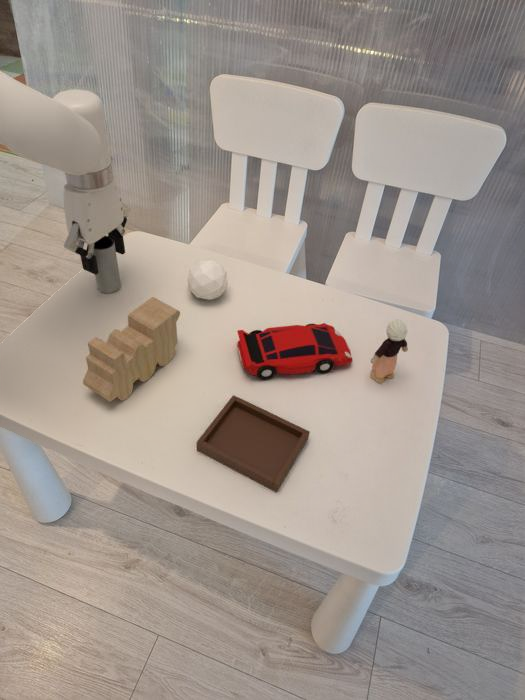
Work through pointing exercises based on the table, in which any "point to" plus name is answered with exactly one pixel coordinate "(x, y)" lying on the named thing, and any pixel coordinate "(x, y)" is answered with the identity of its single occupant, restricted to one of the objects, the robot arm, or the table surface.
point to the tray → (253, 442)
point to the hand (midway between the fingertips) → (104, 260)
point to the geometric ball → (207, 279)
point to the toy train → (132, 350)
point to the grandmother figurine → (389, 351)
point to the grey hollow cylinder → (107, 265)
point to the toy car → (292, 350)
